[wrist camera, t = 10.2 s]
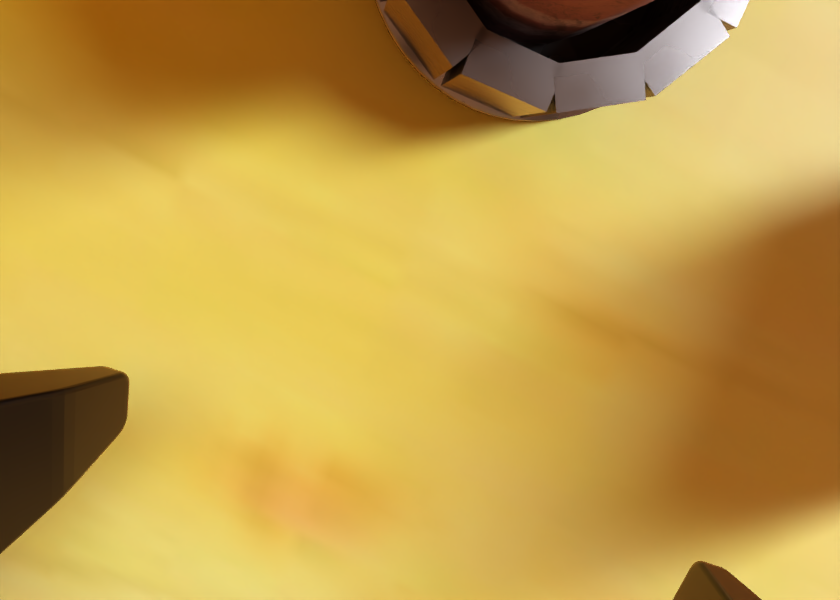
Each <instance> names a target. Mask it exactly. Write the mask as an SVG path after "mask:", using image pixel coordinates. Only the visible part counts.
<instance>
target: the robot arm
mask: <svg viewBox="0 0 840 600" xmlns="http://www.w3.org/2000/svg"><path fill="white" fill-rule="evenodd" d="M128 395H129V378H128V376H127V375H126V374H125V373H124V372H121V371H118V370H115V369H112V368H109V367H104V366H98V367H84V368H70V369H56V370H43V371H29V372H15V373H1V374H0V554H1V553H2V552H3V551H4V550H5V549H6V548H7V547H9V546H10V545H11V544H12V543H13V542H14V541H15V540H16V539H17V538H18V537H20V536H21V535H22V534H23V533H24V532H25V531H26V530H27V529H28V528H30V527H31V526H32V525H33V524H34V523H35V522H36V521H37V520H38V519H39V518H41V517H42V516H43V515H44V514H45V513H46V512H47V511H48V510H49V509H51V508H52V507H53V506H54V505H55V504H56V503H57V502H58V501H59V500H60V499H61V498H62V497H63V496H64V495H65V494H66V493H67V492H68V491H69V490H70V489H71V488H72V487H73V486H74V485H75V483H76V482H77V481H78V480H79V479H80V478H81V477H82V475H83V474H84V473H85V472H86V471H87V470H88V469H89V468H90V466H91V465H92V464H93V463H94V462H95V461H96V460H97V459H98V457H99V456H100V455H101V454H102V453H103V452H104V451H105V450H106V448H107V447H108V446H109V445H110V444H111V443H112V442H113V441H114V439H115V438H116V437H117V436H118V435H119V434H120V432H121V431H122V429H123V427H124V425H125V423H126V419H127V411H128ZM673 600H761V599H760V598H759V597H758V596H757V595H756V594H754V593H753V592H752V591H751V590H750V589H748V588H747V587H746V586H745V585H744V584H743V583H741V582H740V581H739V580H738V579H737V578H735V577H734V576H733V575H732V574H731V573H730V572H728V571H727V570H725V569H724V568H722V567H719V566H715V565H712V564H709V563H706V562H703V561H698V562H695V563H694V564H693V565H692V567H691V568H690V570H689V572H688V573H687V575H686V577H685V579H684V580H683V582H682V584H681V586H680V588H679V589H678V591H677V593H676V595H675V596H674V599H673Z"/></svg>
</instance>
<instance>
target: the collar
mask: <svg viewBox="0 0 840 600" xmlns="http://www.w3.org/2000/svg"><path fill="white" fill-rule="evenodd" d="M375 1H376V4H377V7H378V10H379V12H380V14H381V17H382V19H383V21H384V23H385V25H386V27H387V29H388V31H389V33H390V35H391V36H392V38H393V39H394V41H395V43H396V44H397V46H398V47H399V49H400V50H401V52H402V53H403V54H404V56H405V57H406V58H407V59H408V60H409V62H410V63H411V64H412V65H413V66H414V68H415V69H416V70H417V71H418V72H419V73H420V74H421V75H422V76H423V77H424V78H425V79H427V80H428V81H429V82H430V83H431V84H432V85H433V86H434V87H436V88H437V89H439V90H440V91H441V92H443V93H444V94H446V95H447V96H449V97H450V98H451V99H453V100H455V101H457V102H459V103H461V104H463V105H465V106H467V107H469V108H471V109H473V110H476V111H479V112H482V113H484V114H487V115H490V116H494V117H499V118H504V119H509V120H519V121H544V120H556V119H562V118H566V117H571V116H575V115H580V114H582V113H585V112H588V111H590V110H593V109H596V108H599V107H602V106H609V105H616V104H623V103H629V102H636V101H643V100H646V97H651V96H656V95H657V94H658V93H659V92H661V91H662V90H663V89H664V88H666V87H667V86H668V85H670V84H671V83H672V82H673V81H675V80H676V79H677V78H678V77H680V76H681V75H682V74H683V73H685V72H686V71H687V70H688V69H690V68H691V67H692V66H693V65H695V64H696V63H697V62H698V61H700V60H701V59H702V58H703V57H705V56H706V55H707V54H708V53H710V52H711V51H712V50H713V49H715V48H716V47H717V46H718V45H720V44H721V43H722V42H723V41H725V40H726V39H727V38H728V37H730V36H729V34H728V32H727V30H730V29H734V28H737V26H738V24H739V21H740V19H741V17H742V15H743V13H744V11H745V9H746V6H747V4H748V2H749V0H654V1H652V2H650V3H648V4H646V5H643V6H641V7H639V8H637V9H635V10H632V11H630V12H628V13H626V14H624V15H621V16H619V17H617V18H615V19H613V20H610V21H608V22H606V23H604V24H602V25H599V26H597V27H595V28H593V29H591V30H588V31H586V32H584V33H582V34H580V35H576V36H573V37H569V38H566V39H563V40H559V41H556V42H552V43H549V44H545V43H527V42H516V41H513V40H511V39H508V38H506V37H504V36H501V35H499V34H496V33H494V32H492V31H489V30H487V29H486V28H485V26H484V25H483V23H482V22H481V21H480V19H479V18H478V16H477V15H476V13H475V12H474V10H473V9H472V7H471V6H470V5H469V3H468V2H467V0H375Z"/></svg>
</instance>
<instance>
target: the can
mask: <svg viewBox="0 0 840 600" xmlns="http://www.w3.org/2000/svg"><path fill="white" fill-rule="evenodd" d="M652 1H654V0H467V2H468V3H469V5H470V6H471V7H472V9H473V10H474V12H475V13H476V15H477V16H478V18H479V19H480V21H481V22H482V23H483V25H484V26H485V28H486V29H487V30H489V31H492V32H494V33H496V34H499V35H501V36H504V37H506V38H508V39H511V40H513V41H516V42H527V43H545V44H549V43H552V42H556V41H559V40H563V39H566V38H569V37H573V36H576V35H580V34H582V33H584V32H586V31H588V30H591V29H593V28H595V27H597V26H599V25H602V24H604V23H606V22H608V21H610V20H613V19H615V18H617V17H619V16H621V15H624V14H626V13H628V12H630V11H632V10H635V9H637V8H639V7H641V6H643V5H646V4H648V3H650V2H652Z"/></svg>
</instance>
